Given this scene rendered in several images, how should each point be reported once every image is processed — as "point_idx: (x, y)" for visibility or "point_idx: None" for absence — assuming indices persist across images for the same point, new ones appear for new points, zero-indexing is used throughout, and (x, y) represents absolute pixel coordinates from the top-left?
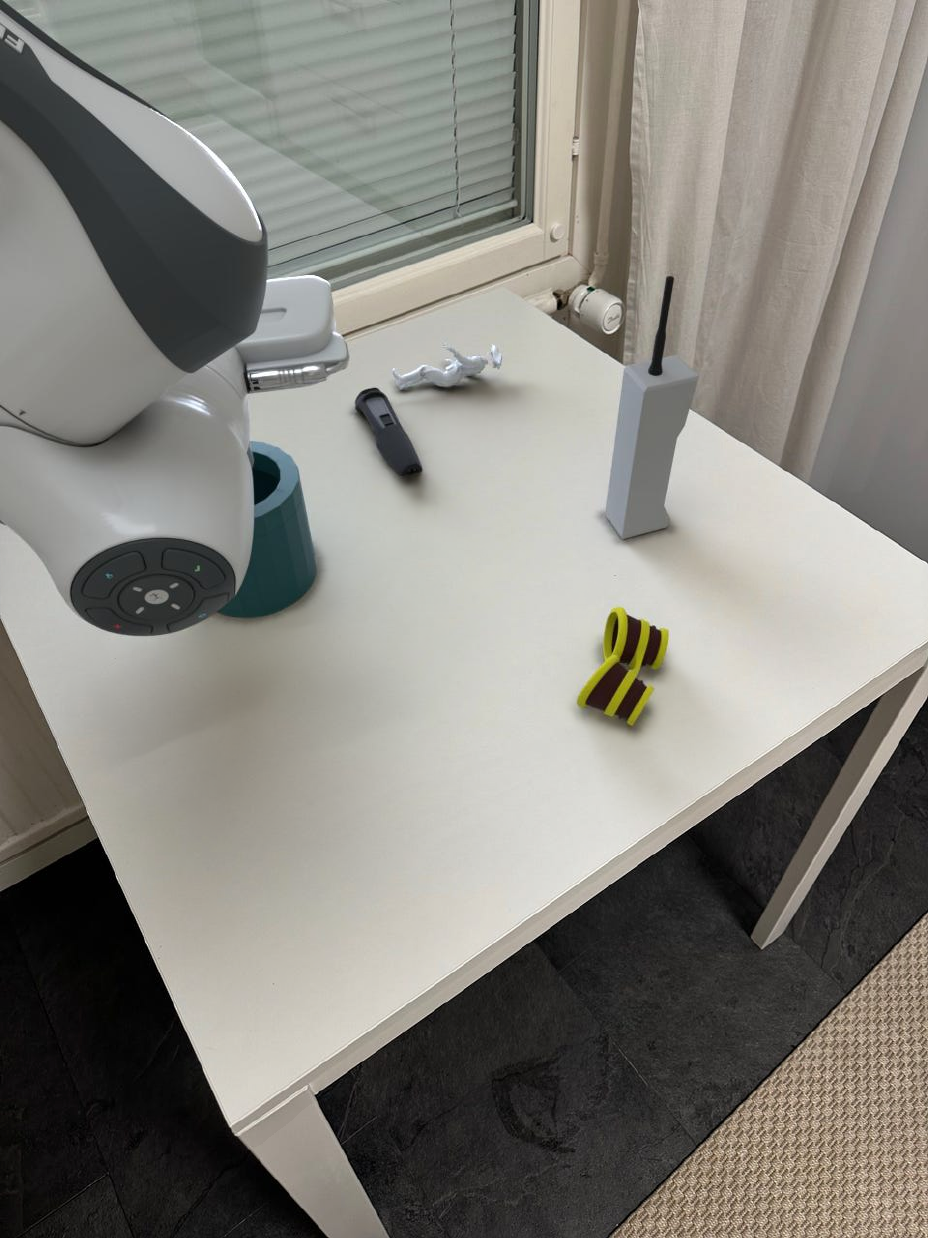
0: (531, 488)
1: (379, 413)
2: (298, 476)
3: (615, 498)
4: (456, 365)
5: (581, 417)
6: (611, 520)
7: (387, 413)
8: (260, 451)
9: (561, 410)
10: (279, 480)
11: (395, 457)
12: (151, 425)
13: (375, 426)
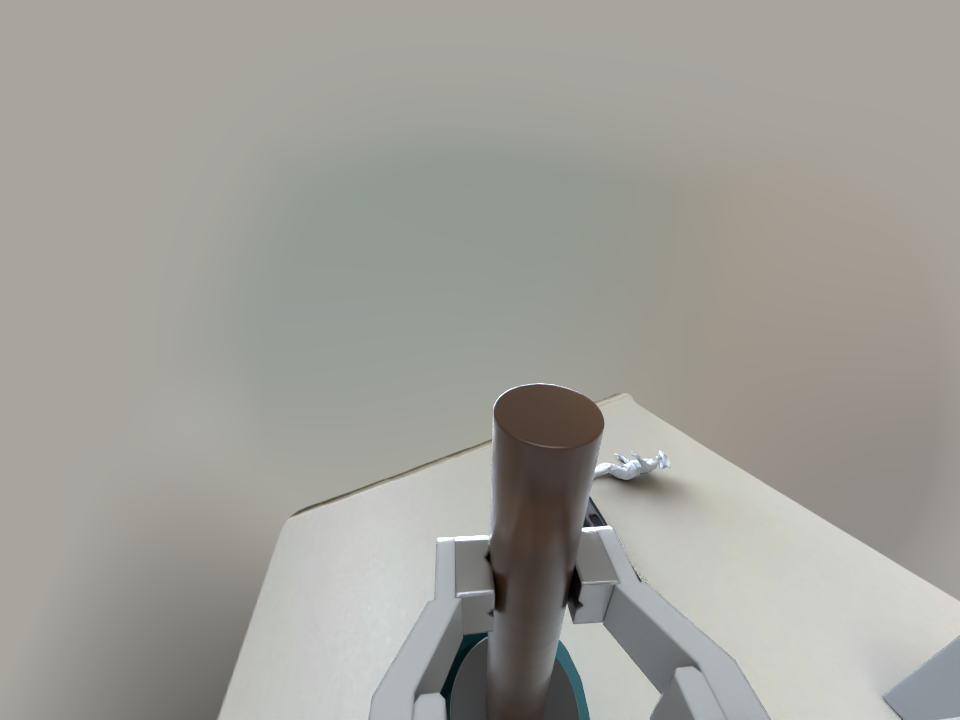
0: (761, 627)
1: (587, 511)
2: (585, 702)
3: (929, 704)
4: (635, 465)
5: (753, 526)
6: (905, 717)
7: (595, 514)
8: None
9: (730, 515)
10: None
11: None
12: None
13: (586, 526)
